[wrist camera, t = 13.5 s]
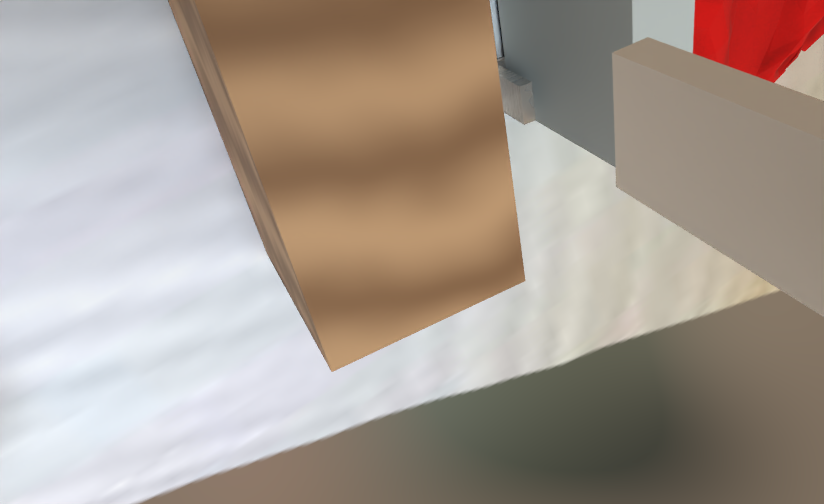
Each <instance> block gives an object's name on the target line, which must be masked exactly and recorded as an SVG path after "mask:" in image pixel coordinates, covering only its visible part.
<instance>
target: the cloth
mask: <svg viewBox="0 0 824 504" xmlns="http://www.w3.org/2000/svg"><path fill="white" fill-rule="evenodd" d="M823 34H824V0H695V11H694V35H693V54H696V55H698V56H701V57H704V58H707V59H709V60H712V61H715V62H718V63H720V64H723V65H726V66H729V67H731V68H734V69H737V70H740V71H742V72H745V73H748V74H751V75H753V76H756V77H759V78H762V79H764V80H767V81H770V82H773V83H774V82H775V81H776V80H777V79H778V78H779V77H780V76H781V75H782V74H783V73H784V72H785V71H786V70H785V69H786V68H787V67H788V66H789V65H790V64H791V63H792V62H793V61H794V60H795V59H796V58H797V57H798V55H799V53H800V51H801V50H802V51H806V50H807V49H808V48H809V47H810V46H811V45H812V44H813V43H814V42H815V41H817V40H818V39H819V38H820V37H821V36H822V35H823Z"/></svg>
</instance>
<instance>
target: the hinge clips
mask: <svg viewBox="0 0 824 504" xmlns="http://www.w3.org/2000/svg"><path fill="white" fill-rule="evenodd" d="M497 64H498V71H499V79H500V87H501V95H502V103H503V111H504V113H506V114H507V115H509V116H511V117H512V118H514V119H516V120H517V121H519V122H521V123H522V124H524V125H525V124H527V123H529V122H532V121H534V120H536V118H535V108H534V98H533V88H532V82H531V81H529V80H527V79H525V78H523V77H521V76H519V75H517V74H515V73H513V72H512V71H510V70H508V69H506V65H505V57H502V58H500V59H497Z"/></svg>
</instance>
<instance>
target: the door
mask: <svg viewBox="0 0 824 504" xmlns="http://www.w3.org/2000/svg"><path fill="white" fill-rule="evenodd" d="M498 7H499V16H500V24H501V32H502V40H503V49H504V57H505V65H506V69H508V70H510V71H512V72H513V73H515V74H517V75H519V76H521V77H523V78H525V79H527V80H529V81H531V82H532V88H533V98H534V108H535V118H536V121H538V122H539V123H541V124H543V125H544V126H546V127H548V128H549V129H551V130H553V131H555V132H556V133H558V134H560V135H561V136H563V137H565V138H566V139H568V140H570V141H572V142H573V143H575V144H577V145H578V146H580V147H582V148H584V149H585V150H587V151H589V152H590V153H592V154H594V155H595V156H597V157H599V158H601V159H602V160H604V161H606V162H607V163H609V164H611V165H612V166H614V167H616V166H615V134H614V102H613V70H612V52H615V51H617V50H619V49H621V48H624V47H626V46H628V45H631V44H633V43H635V42H638V41H640V40H642V39H645V38H647V37H649V38H652V39H655V40H657V41H660V42H663V43H666V44H668V45H671V46H674V47H677V48H679V49H682V50H685V51H687V52H690V53H693V35H694V11H695V0H498Z"/></svg>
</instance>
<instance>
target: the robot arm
mask: <svg viewBox="0 0 824 504" xmlns="http://www.w3.org/2000/svg"><path fill="white" fill-rule="evenodd" d="M612 70H613V102H614V134H615V166H616V187H617V188H619V189H620V190H622V191H624V192H625V193H627V194H628V195H630V196H632V197H633V198H635V199H636V200H638V201H640V202H641V203H643V204H644V205H646V206H648V207H649V208H651V209H652V210H654V211H656V212H657V213H659V214H660V215H662V216H663V217H665V218H667V219H668V220H670V221H671V222H673V223H675V224H676V225H678V226H679V227H681V228H683V229H684V230H686V231H687V232H689V233H691V234H692V235H694V236H695V237H697V238H699V239H700V240H702V241H703V242H705V243H707V244H708V245H710V246H711V247H713V248H715V249H716V250H718V251H719V252H721V253H723V254H724V255H726V256H727V257H729V258H731V259H732V260H734V261H735V262H737V263H739V264H740V265H742V266H743V267H745V268H746V269H748V270H750V271H751V272H753V273H754V274H756V275H758V276H759V277H761V278H762V279H764V280H766V281H767V282H769V283H770V284H772V285H774V286H775V287H777V288H778V289H780V290H782V291H783V292H785V293H786V294H788V295H790V296H791V297H793V298H794V299H796V300H798V301H799V302H801V303H802V304H804V305H806V306H807V307H809V308H810V309H812V310H814V311H815V312H817V313H818V314H820V315H822V316H823V317H824V101H822V100H819V99H817V98H814V97H811V96H808V95H806V94H803V93H800V92H797V91H795V90H792V89H789V88H786V87H784V86H781V85H778V84H775V83H773V82H770V81H767V80H764V79H762V78H759V77H756V76H753V75H751V74H748V73H745V72H742V71H740V70H737V69H734V68H731V67H729V66H726V65H723V64H720V63H718V62H715V61H712V60H709V59H707V58H704V57H701V56H698V55H696V54H693V53H690V52H687V51H685V50H682V49H679V48H677V47H674V46H671V45H668V44H666V43H663V42H660V41H657V40H655V39H652V38H649V37H647V38H645V39H642V40H640V41H638V42H635V43H633V44H631V45H628V46H626V47H624V48H621V49H619V50H617V51H615V52H612Z"/></svg>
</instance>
